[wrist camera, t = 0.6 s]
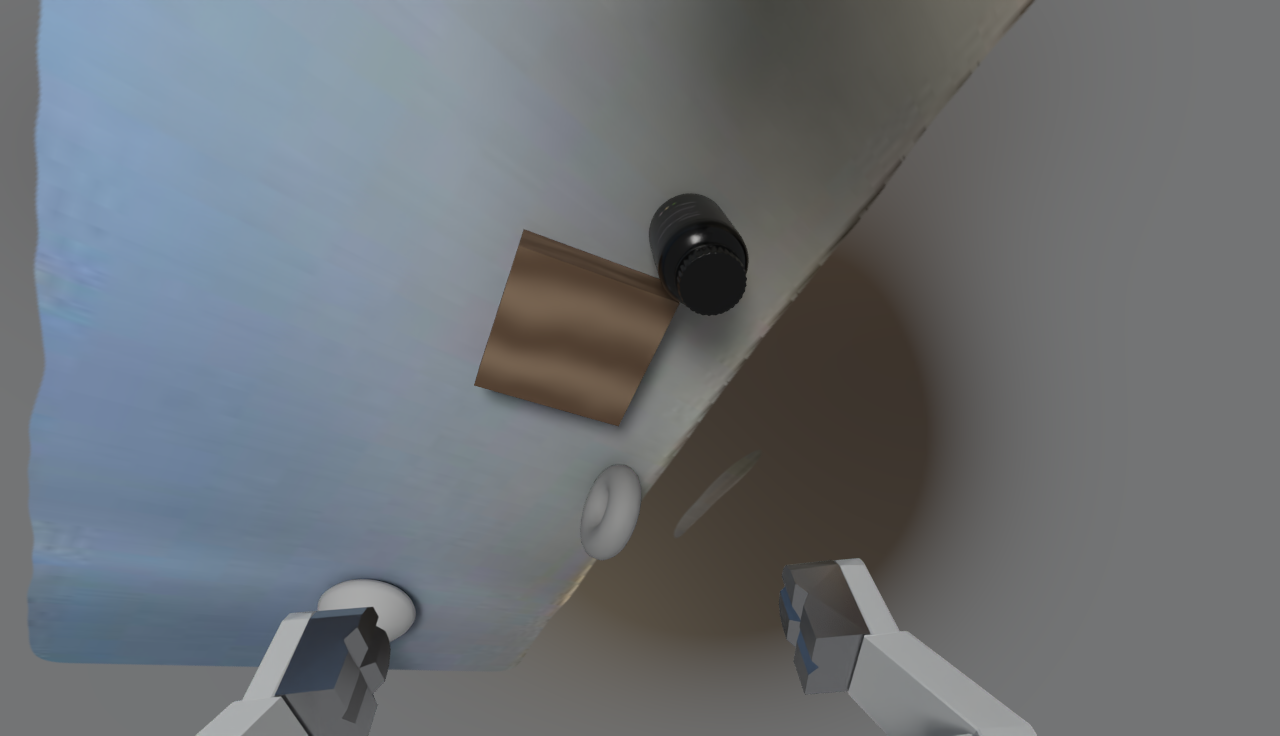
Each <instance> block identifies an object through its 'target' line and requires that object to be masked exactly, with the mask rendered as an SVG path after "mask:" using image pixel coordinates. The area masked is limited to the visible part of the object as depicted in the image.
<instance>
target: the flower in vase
mask: <svg viewBox="0 0 1280 736" xmlns="http://www.w3.org/2000/svg"><path fill="white" fill-rule="evenodd" d="M362 607H374V609H375V611H376V613H377V614H378V616H379V618H378V621H377V624H376V626H378V627H379V628H381V629H383V630H385V631H386V633H387V636H388V638H389V642H391V641H393V640H395V639H396V638H398V637H400V636H401V635H403V634H404V633H405V632H407V630H408V629H409V628H410V627H411V625H412V624H413V622H414V621H415V617H416V610H415V607H414V604H413V602H412V600H411V599H410V597H409V596H408V595H407V594H406V593H405V592H403V591H402V590H401V589H399V588H397V587H396V586H393V585H391V584H388V583H385V582H382V581H377V580H370V579H355V580H348V581H345V582H342V583H339V584H337V585H335V586H333V587H332V588H330V589H328V590H327V591H326V592H325V593H324V594H323V595H322V596H321V597H320V599H319V602H318V611H324V610H337V609H349V608H362Z"/></svg>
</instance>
